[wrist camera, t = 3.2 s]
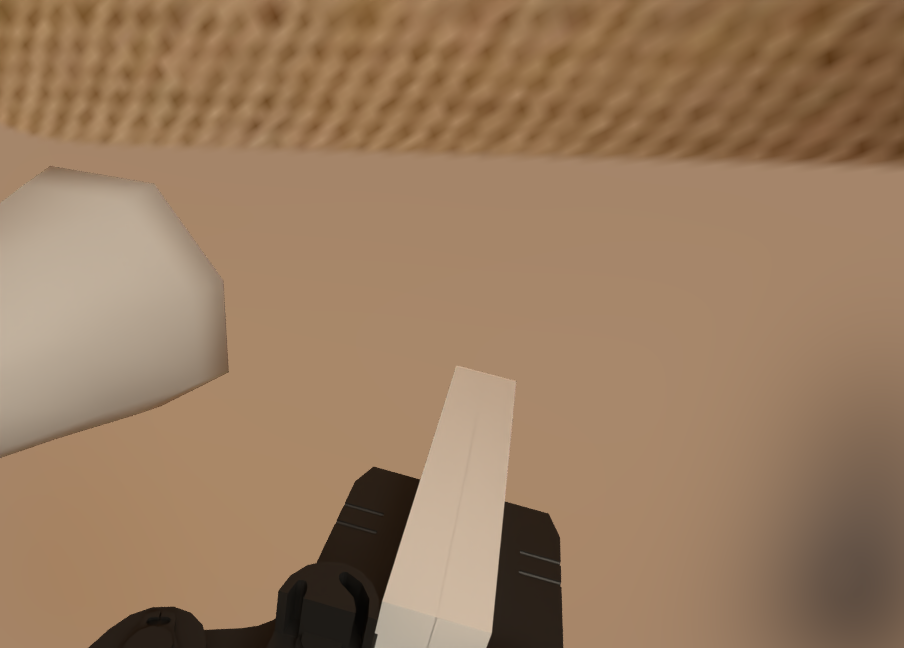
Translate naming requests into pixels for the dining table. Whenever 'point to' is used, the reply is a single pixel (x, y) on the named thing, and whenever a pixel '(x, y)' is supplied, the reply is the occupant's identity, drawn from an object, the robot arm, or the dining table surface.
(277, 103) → the dining table surface
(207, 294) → the flask
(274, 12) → the dining table surface
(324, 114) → the dining table surface
